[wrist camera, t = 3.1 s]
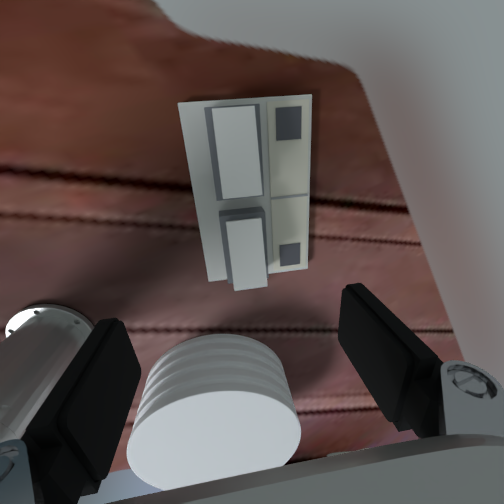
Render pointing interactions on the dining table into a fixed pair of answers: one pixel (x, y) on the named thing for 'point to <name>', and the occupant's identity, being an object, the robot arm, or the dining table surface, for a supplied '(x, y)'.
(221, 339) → the plate stack
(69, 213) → the dining table surface
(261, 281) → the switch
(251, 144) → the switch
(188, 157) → the panel
